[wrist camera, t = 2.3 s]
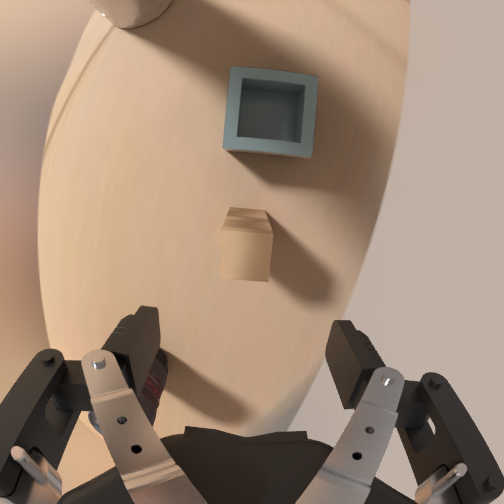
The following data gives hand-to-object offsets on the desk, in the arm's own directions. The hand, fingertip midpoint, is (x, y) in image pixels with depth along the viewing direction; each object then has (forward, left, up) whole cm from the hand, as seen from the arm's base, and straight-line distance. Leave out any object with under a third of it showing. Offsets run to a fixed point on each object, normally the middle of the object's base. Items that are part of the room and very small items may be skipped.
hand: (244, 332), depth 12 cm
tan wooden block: (0, 0, -21) cm, 21 cm away
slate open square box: (-9, +9, -21) cm, 25 cm away
